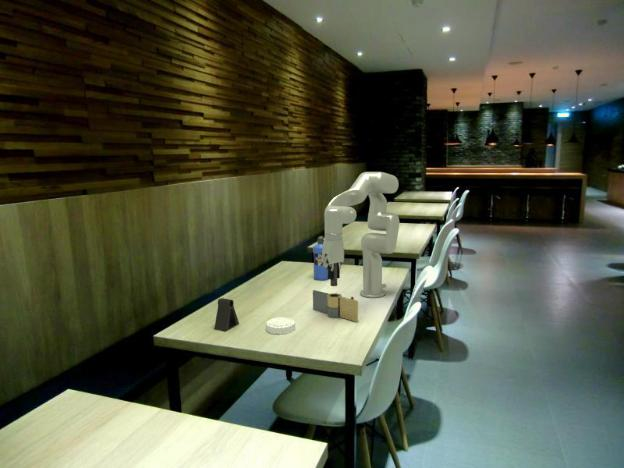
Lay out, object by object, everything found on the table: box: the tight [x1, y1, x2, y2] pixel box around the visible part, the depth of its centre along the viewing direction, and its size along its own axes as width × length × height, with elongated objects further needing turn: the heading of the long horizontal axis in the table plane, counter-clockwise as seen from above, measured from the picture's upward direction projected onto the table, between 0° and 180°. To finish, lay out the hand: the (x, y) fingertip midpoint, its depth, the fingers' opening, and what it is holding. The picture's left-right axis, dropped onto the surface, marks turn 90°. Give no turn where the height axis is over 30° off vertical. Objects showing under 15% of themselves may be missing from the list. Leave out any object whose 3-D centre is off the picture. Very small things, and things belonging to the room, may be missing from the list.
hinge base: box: [312, 289, 341, 319], centre depth 196 cm, size 6×16×9 cm, turn 47°
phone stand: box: [213, 297, 240, 332], centre depth 182 cm, size 9×6×12 cm, turn 151°
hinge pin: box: [329, 263, 338, 287], centre depth 190 cm, size 3×3×12 cm
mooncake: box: [265, 316, 296, 335], centre depth 179 cm, size 12×12×4 cm
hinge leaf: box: [327, 292, 359, 323], centre depth 190 cm, size 6×16×9 cm, turn 47°
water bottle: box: [312, 235, 330, 282], centre depth 252 cm, size 9×9×25 cm
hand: (333, 278), depth 191 cm, fingers closed on hinge pin, 3 cm apart
